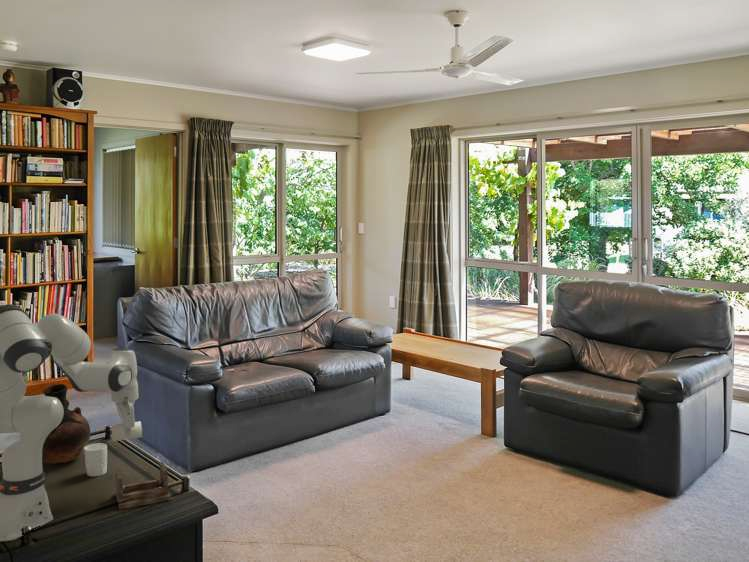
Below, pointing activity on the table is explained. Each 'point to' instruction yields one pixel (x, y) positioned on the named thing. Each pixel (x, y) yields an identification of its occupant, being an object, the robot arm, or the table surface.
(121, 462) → the table surface
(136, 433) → the paper roll
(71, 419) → the ceramic vessel
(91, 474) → the white cup
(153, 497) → the roll holder
